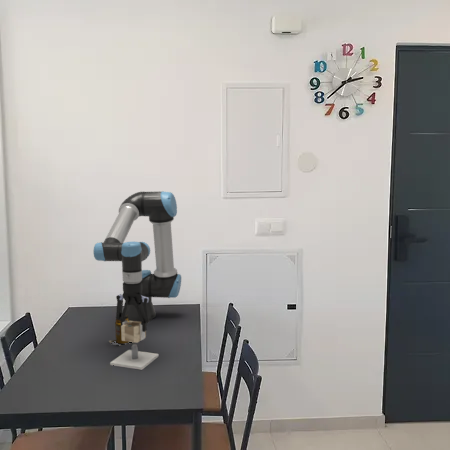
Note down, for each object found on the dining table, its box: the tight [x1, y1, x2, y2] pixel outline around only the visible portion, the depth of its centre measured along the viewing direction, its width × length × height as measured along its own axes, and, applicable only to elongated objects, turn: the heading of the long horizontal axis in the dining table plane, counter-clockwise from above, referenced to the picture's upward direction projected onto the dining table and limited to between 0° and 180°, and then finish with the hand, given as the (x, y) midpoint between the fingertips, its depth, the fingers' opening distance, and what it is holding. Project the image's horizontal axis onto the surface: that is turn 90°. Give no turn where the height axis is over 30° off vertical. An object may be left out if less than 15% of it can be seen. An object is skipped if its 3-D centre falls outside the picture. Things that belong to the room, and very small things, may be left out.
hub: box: [109, 342, 160, 370], centre depth 210 cm, size 14×14×7 cm
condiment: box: [108, 315, 134, 345], centre depth 229 cm, size 7×8×12 cm
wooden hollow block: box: [121, 320, 147, 344], centre depth 208 cm, size 7×7×6 cm
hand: (134, 338), depth 208 cm, fingers closed on wooden hollow block, 7 cm apart
